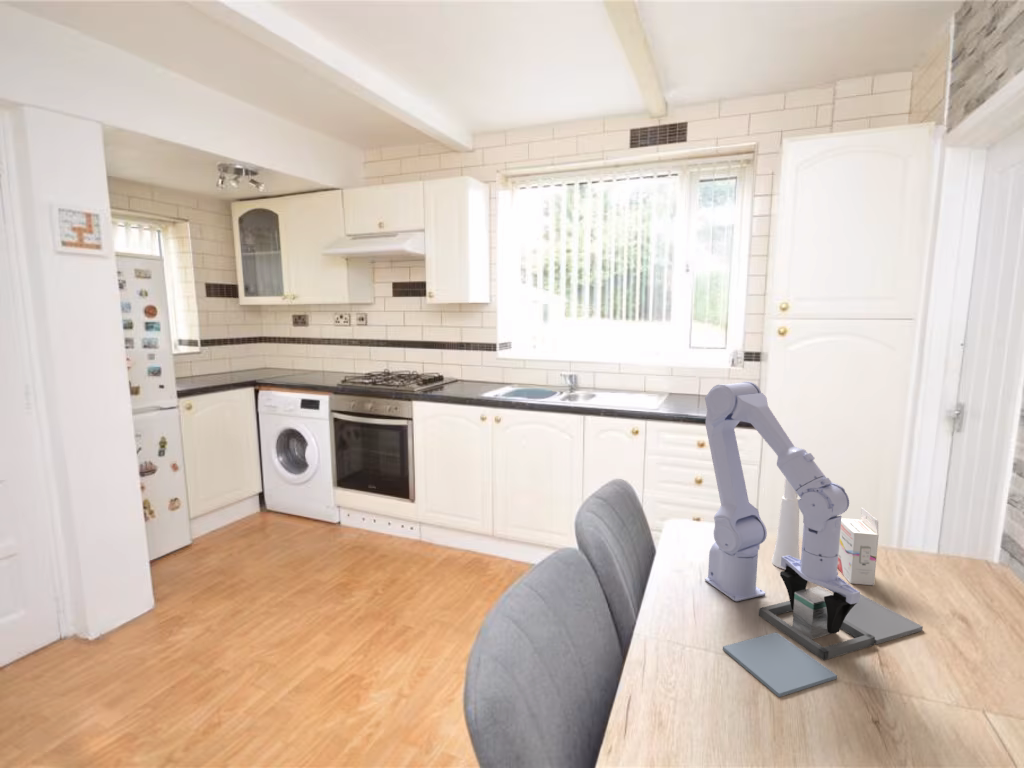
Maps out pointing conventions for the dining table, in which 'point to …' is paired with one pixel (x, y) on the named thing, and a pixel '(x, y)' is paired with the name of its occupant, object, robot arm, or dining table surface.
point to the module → (811, 612)
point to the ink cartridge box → (858, 549)
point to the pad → (779, 664)
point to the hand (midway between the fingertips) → (814, 619)
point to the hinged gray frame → (849, 627)
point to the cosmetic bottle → (787, 527)
